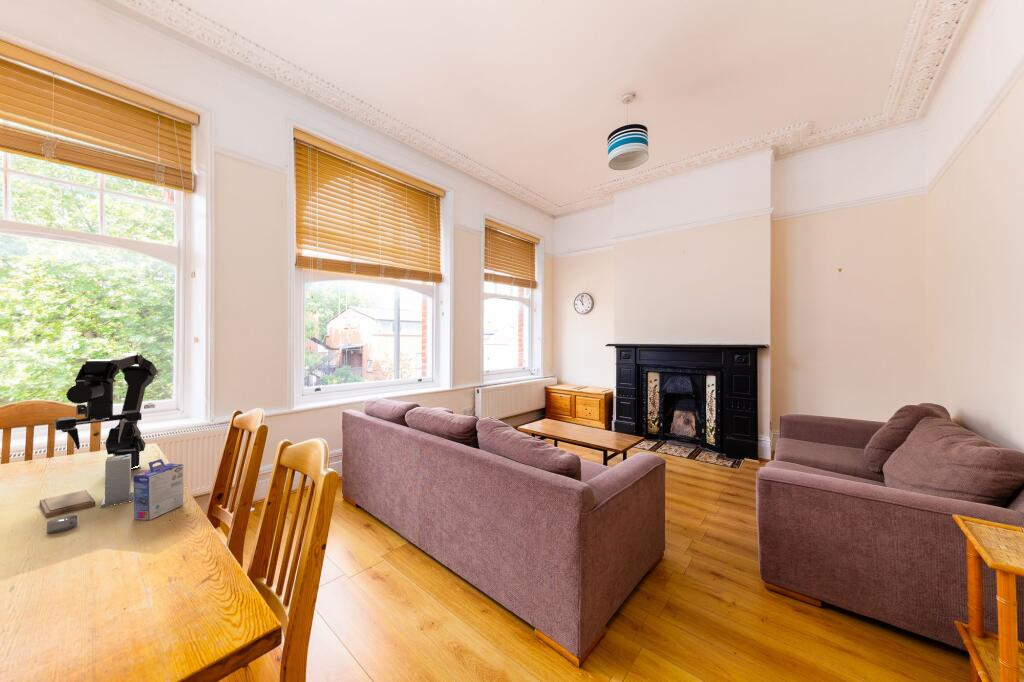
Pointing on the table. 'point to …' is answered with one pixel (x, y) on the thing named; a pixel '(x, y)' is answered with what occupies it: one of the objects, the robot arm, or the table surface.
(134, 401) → the robot arm
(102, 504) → the block
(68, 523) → the grey rounded block
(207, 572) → the table surface
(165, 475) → the ink cartridge box
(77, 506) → the stand
